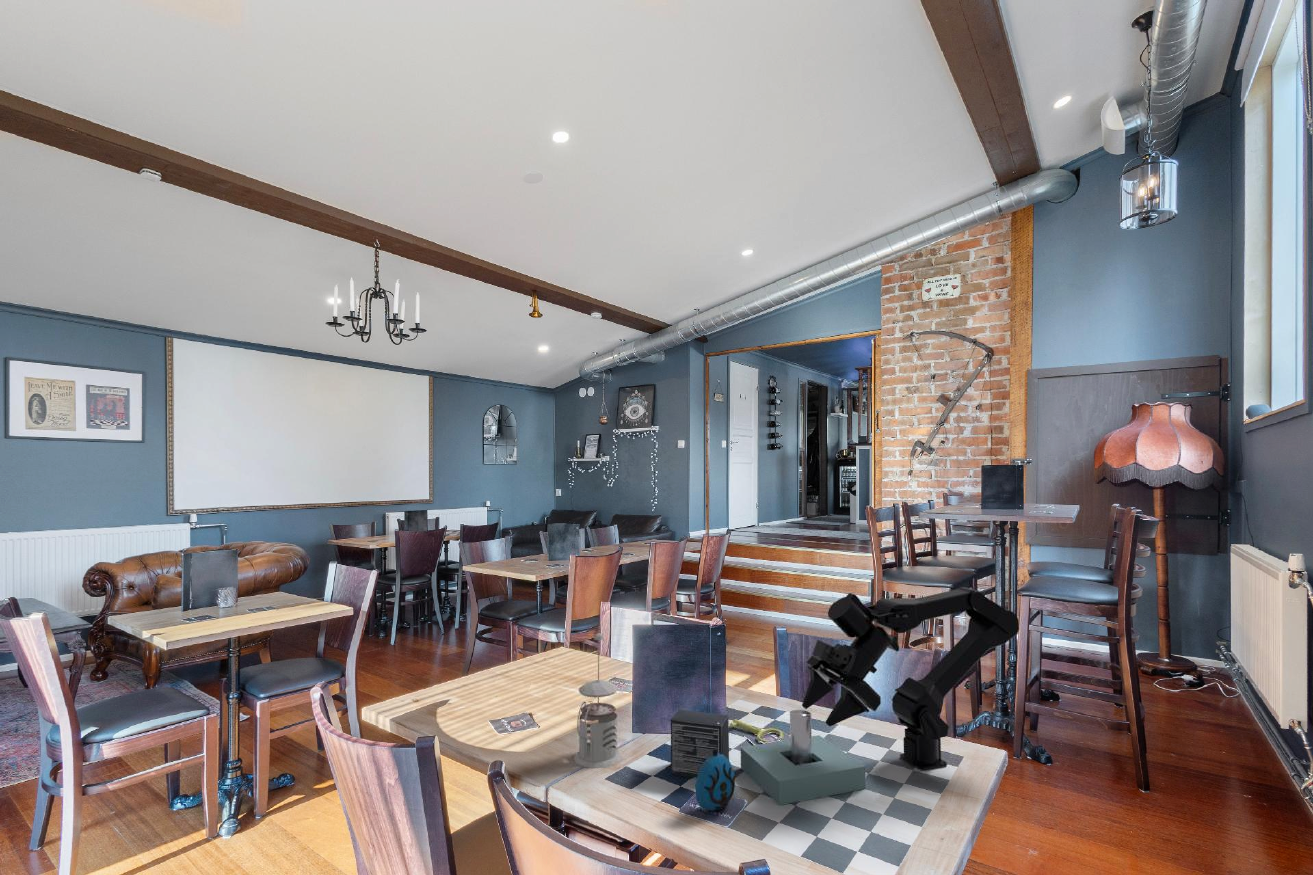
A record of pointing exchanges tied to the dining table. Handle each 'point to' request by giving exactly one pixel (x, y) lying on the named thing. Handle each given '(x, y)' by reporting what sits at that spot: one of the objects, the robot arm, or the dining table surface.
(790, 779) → the box
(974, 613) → the robot arm
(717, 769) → the ornament
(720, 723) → the small box
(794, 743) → the tube
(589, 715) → the french press
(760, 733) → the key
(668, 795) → the dining table surface
